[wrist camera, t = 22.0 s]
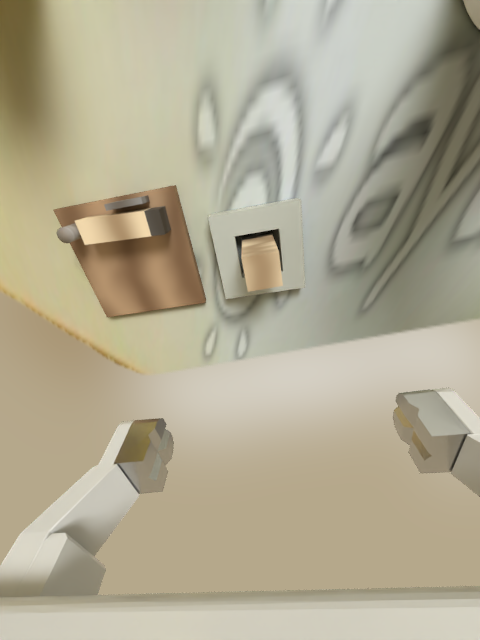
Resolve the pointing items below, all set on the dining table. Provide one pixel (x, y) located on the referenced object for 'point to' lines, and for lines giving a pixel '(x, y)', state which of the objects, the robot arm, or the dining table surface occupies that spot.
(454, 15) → the dining table surface
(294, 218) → the socket
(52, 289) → the dining table surface
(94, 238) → the leg bar
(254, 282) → the leg peg
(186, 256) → the board
